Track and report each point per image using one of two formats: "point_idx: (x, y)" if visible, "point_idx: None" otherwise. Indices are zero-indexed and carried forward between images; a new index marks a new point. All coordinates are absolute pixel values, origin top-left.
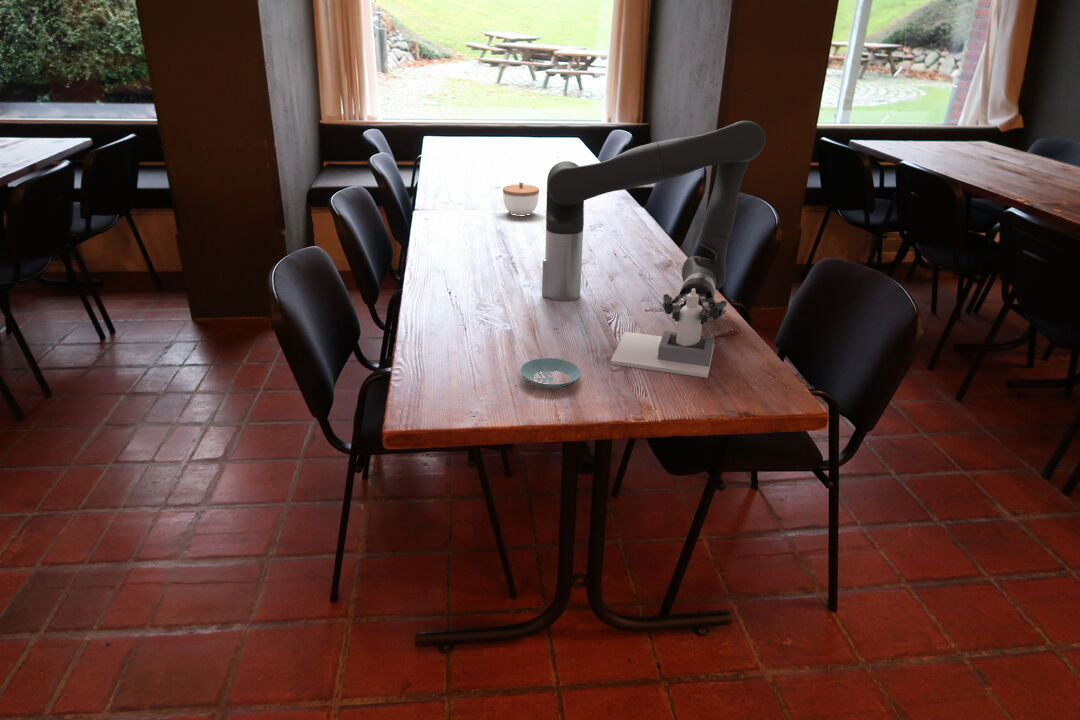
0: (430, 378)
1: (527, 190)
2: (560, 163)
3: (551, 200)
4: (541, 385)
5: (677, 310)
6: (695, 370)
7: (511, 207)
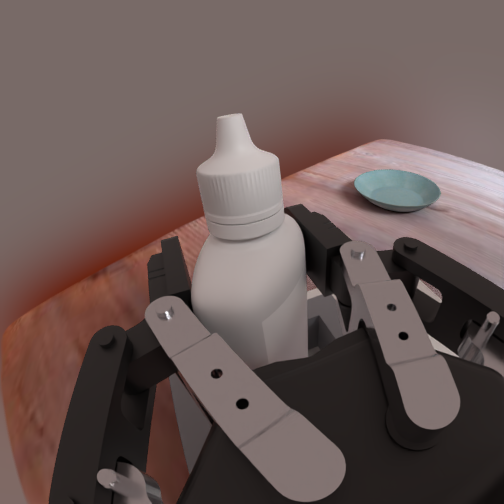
0: (452, 163)
1: None
2: None
3: None
4: (376, 177)
5: (301, 211)
6: None
7: None
